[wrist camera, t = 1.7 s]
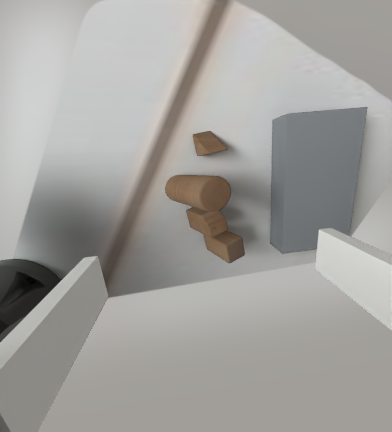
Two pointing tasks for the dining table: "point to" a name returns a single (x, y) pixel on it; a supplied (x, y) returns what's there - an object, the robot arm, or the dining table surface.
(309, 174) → the grey rectangular slab
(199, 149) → the wooden block set
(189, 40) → the dining table surface
